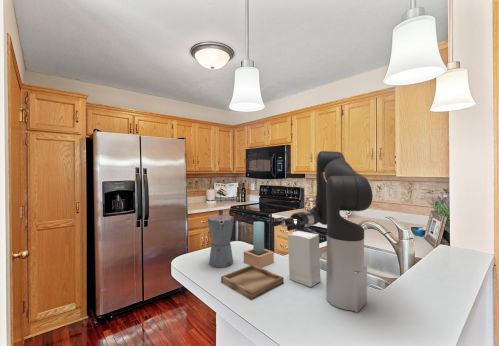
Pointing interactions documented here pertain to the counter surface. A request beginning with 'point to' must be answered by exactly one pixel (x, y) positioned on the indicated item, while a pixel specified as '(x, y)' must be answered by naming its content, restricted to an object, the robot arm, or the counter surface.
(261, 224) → the dowel pin
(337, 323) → the counter surface
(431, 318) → the counter surface
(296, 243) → the skincare box
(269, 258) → the square terracotta collar
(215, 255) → the moka pot
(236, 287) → the tray
